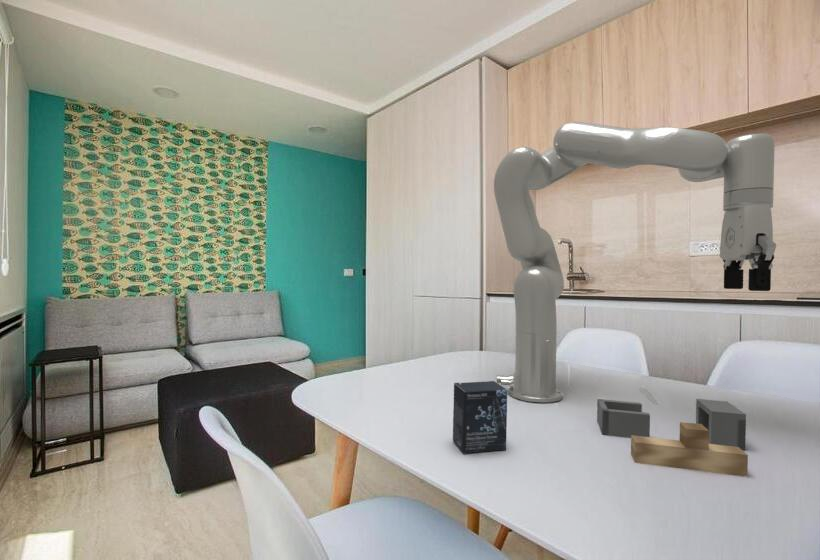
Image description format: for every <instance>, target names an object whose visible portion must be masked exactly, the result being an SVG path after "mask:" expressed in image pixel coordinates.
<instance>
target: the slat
mask: <svg viewBox="0 0 820 560" xmlns="http://www.w3.org/2000/svg"><path fill="white" fill-rule="evenodd" d="M630 456H631V457H632V460H633V462H634V463H638V464H644V465H652V466H659V467H668V468H675V469H682V470H683V469H685V470H691V471H697V472H698V471H699V472H707V473H714V474H722V475H723V474H724V475H731V476H737V475H738V477H739V476H740V477H744V476H747V477H748V469H749V468H748V465H749V463H748V461H749V455H748V454H747V452H745V450H742V449H740V448H739V447H734V446H725V445H716V444H709V431H708V430H707V429H706V428H705V427H704V426H703V425H702V424H696V422H695V423H693V422H685V421H684V422H683V421H679V439H671V438H670V439H669V438H659V437H644V436H635V435H631V438H630Z"/></svg>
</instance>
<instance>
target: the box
mask: <svg viewBox="0 0 820 560" xmlns="http://www.w3.org/2000/svg"><path fill="white" fill-rule="evenodd" d="M452 413H453V415H452V416H453V417H452V441H453V442H454V444H455V445H456V447H457V449H459V451H460V452H461V453H462V454H463V455H465V454H469V453H470V454H471V453H472V454H473V453H481V452H493V451H506V449H507V426H508V425H507V417H508V389H507V388H506V387H504V386H503V385H501V384H500V383H497V381H495V380H490V381H472V382H471V381H470V382H454V383H453V412H452Z"/></svg>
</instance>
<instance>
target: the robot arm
mask: <svg viewBox="0 0 820 560" xmlns="http://www.w3.org/2000/svg"><path fill="white" fill-rule="evenodd" d="M552 143H553V145H552V146H553V147H551V148H549V149H548V150H547V151H545V152H543V153H540V152H539V151H538V150H536V149H534V148H532V147H528V146H519V147H516V148H513V149H512V150H510V151H509V152H508V153H507V154H506V155H505V156H504V157H503V158H502V159H501V161H500V163H499V165H498V167H497V168H496V171H495V174H494V178H493V179H494V180H493V191H494V197H495V202H496V203H495V204H496V205H497V210H498V213H499V217H500V223H501V227H502V231H503V234H504V240H505V241H506V242H505V243H506V248H507V251H508V253H509V254H510V256H511V257H512V258H513V259H514V260H516V261H518V262H520V264H521V267H522V270H521V271H520V272H519V273H518V274H517V276H516V278H515V280H514V285H513V297H514V299H513V300H514V309H515V360H514V361H515V363H514V364H515V365H514V366H515V371H514V373H513V374H511V375H509V376H505V375H496V383H498V384H500V385H501V386H509V387H508V394H509V396H511V397H512V398H514V399H517V400H521V401H524V402H532V403H542V404H543V403H554V402H559V401H561V400H562V399H563V392H562V391H561V390H560V389H558V388H557V386H556V385H557V336H558V335H557V329H558V328H557V327H558V326H557V306H556V300H557V299H558V298H559V297H560V296H561V295H562V294H563V291H564V287H565V282H564V281H565V280H564V276H563V272H562V268H561V265H560V262H559V258H558V253H557V251H556V247H555V243H554V241H553V238H552V236H551V235H550V233H549V232H548V231H547V230H546V229H545V228H542V227H541V226H540V223H539V219H538V217H537V213H536V209H535V206H534V202H533V199H532V196H531V193H530V191H539V190H542V189H545V188H547V187H549V186H551V185H552V184H554V183H557V182H558V181H560V180H562V179H564V178H565V177H567V176H569V175H571V174H572V173H574V172H577V171H578V170H579V169H581V168H583V167H584V166H586V165H588V164H591V165H595V166H596V165H597V166H602V167H608V168H612V169H618V170H620V169H621V170H622V169H629V168H633V167H635V166H644V165H645V166H647V165H649V166H661V167H667V168H672V169H673V168H674V169H677V170H678V173H679V174H680V176H681V177H682V179H684V180H686V181H688V182H692V183H703V182H708V181H712V180H718V179H722V178H723V203H722V204H723V209H722V211H723V212H724V213H723V219H722V224H721V234H720V244H719V257H720V258H721V260H722V261H723V288H724V289H725V290H726V289H727V290H742V289H743V288H744V269H742V267H743V265H744V263H745V261H748V263H749V265H750V268H749V269H748V285H747V286H748V291H751V292H770V291H771V287H772V286H771V283H772V280H771V279H772V269H773V261H774V259H775V251H776V248H777V244H776V243H775V242H774V233H773V232H774V230H773V215H772V208H773V207H774V186H775V185H774V184H775V179H774V177H775V139H774V137H773V136H772V135H770V134H768V133H751V134H750V133H749V134H744V135H740V136H737V137H735V138H731V139H730V140H729V141H727V142H726V140H724V138H722V137H721V136H720V135H718V134H716V133H713V132H710V131H704V130H700V129H699V130H698V129H689V128H683V127H671V126H655V127H639V128H638V127H637V128H630V127H621V126H614V125H606V124H599V123H598V124H597V123H591V122H583V121H569V122H565V123H563V124H562V125H561V126H560V127H559V128H558V129H557V130H556V132H555V134H554V137H553V142H552Z"/></svg>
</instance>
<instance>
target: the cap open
mask: <svg viewBox="0 0 820 560" xmlns="http://www.w3.org/2000/svg"><path fill="white" fill-rule="evenodd" d="M596 406H597V411H596V412H597V413H596V421H597V425H598V426H599V429H601V430H600V432H601V434H602V435H603V436H614V437H623V438H630V439H631V435H635V436H644V437H650V435H651V414H650V413H649V412H644V411H643V404H642V403H641V402H635V401H623V400H613V399H602V398H597V405H596ZM642 411H643V412H642Z"/></svg>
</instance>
